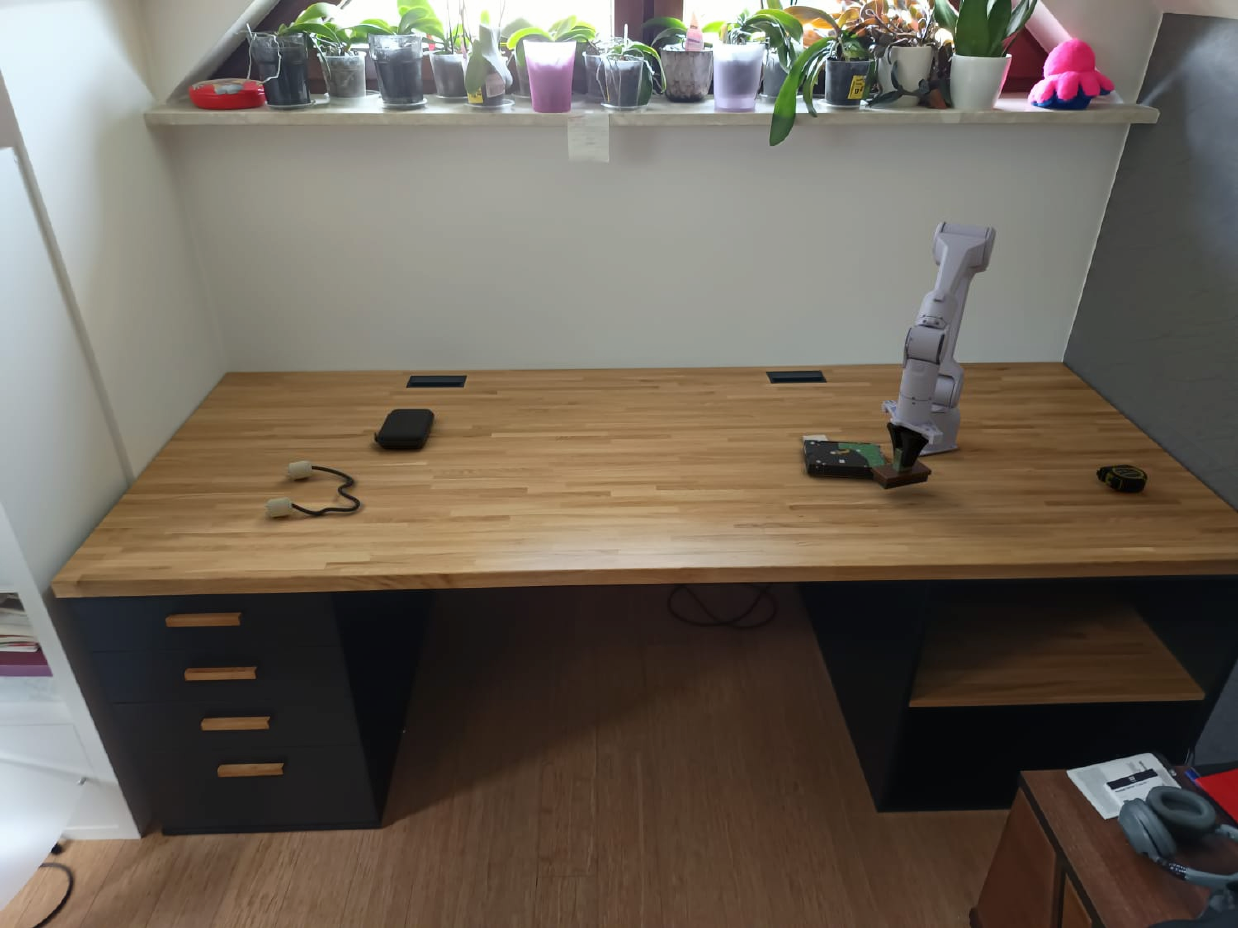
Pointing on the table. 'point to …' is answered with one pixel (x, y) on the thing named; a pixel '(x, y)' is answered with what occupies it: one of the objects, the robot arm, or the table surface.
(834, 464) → the disk drive
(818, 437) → the eraser
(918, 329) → the robot arm
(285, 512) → the cable
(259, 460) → the table surface
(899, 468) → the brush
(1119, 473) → the tape measure
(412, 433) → the carrying case
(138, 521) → the table surface
